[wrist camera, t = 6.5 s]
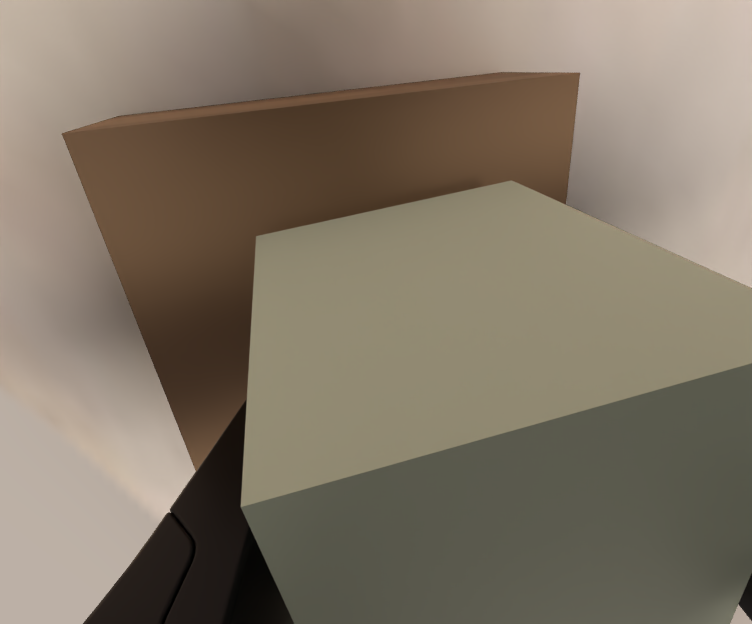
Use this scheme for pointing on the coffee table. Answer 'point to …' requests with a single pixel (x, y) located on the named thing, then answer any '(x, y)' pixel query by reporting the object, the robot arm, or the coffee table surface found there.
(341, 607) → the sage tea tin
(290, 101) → the walnut block
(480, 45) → the coffee table surface
